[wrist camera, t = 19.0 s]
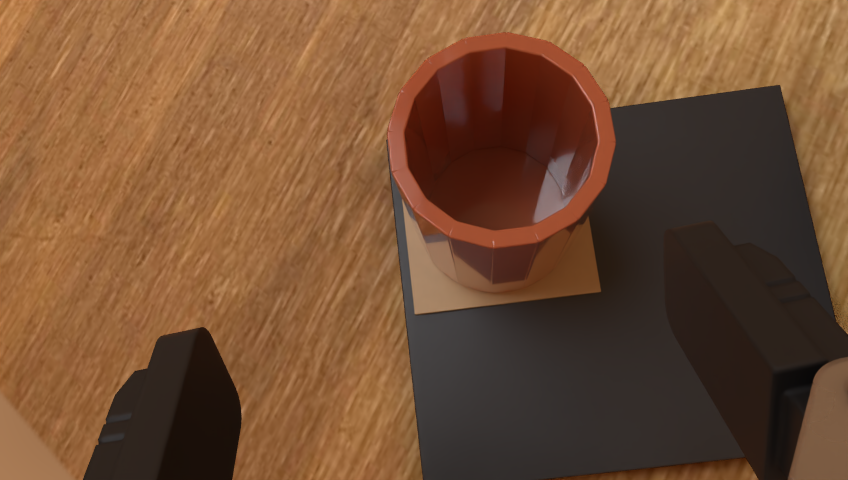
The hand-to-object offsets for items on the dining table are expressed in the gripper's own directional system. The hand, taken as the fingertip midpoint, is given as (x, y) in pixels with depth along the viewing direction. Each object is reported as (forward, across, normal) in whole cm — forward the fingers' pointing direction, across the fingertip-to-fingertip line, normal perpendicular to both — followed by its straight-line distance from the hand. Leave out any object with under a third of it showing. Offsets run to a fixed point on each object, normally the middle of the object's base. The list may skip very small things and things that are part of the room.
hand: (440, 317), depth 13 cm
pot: (+15, -2, +7) cm, 16 cm away
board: (+13, -6, +10) cm, 18 cm away
